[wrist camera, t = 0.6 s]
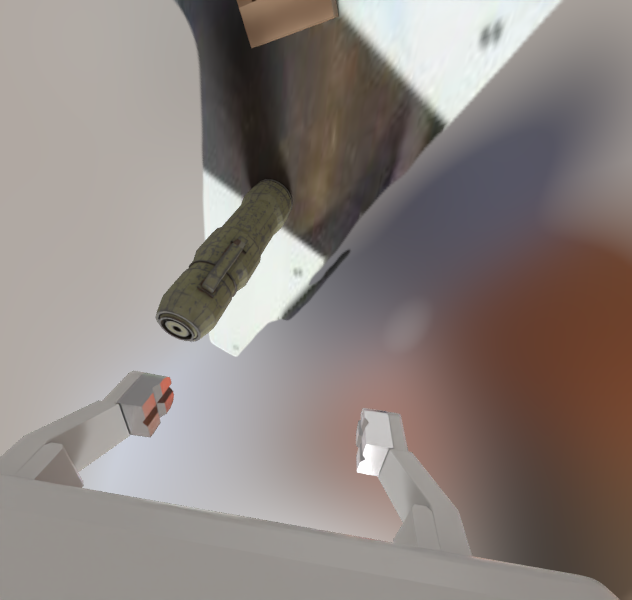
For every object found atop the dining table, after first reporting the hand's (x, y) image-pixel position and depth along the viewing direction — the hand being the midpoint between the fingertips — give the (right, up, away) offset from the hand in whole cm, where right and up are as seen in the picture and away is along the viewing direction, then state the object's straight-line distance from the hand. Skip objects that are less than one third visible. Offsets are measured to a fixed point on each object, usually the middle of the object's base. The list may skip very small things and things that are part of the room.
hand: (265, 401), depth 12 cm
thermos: (-7, +25, +47) cm, 54 cm away
